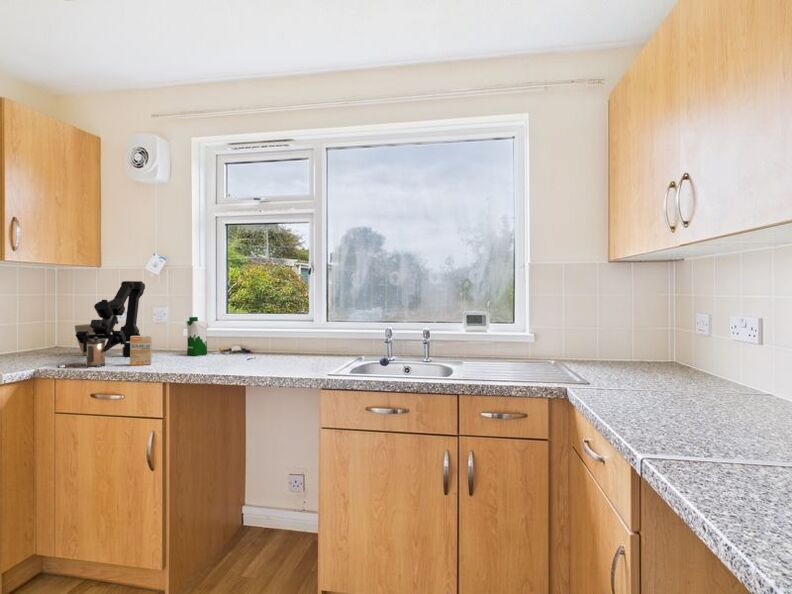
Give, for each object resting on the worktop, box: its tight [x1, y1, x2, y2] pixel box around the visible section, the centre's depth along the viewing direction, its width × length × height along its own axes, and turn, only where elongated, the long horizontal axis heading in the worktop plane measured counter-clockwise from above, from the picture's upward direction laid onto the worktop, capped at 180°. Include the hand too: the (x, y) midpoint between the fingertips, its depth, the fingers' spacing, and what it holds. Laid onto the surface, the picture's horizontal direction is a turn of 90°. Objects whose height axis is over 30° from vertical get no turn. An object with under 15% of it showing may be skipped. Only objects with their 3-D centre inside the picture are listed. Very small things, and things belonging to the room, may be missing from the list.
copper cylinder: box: [86, 336, 106, 368], centre depth 191 cm, size 8×7×13 cm
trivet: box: [62, 362, 87, 368], centre depth 192 cm, size 10×10×1 cm
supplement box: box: [129, 335, 153, 367], centre depth 196 cm, size 8×5×13 cm, turn 115°
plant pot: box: [74, 323, 107, 356], centre depth 230 cm, size 15×15×16 cm
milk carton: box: [185, 316, 209, 357], centre depth 228 cm, size 9×9×20 cm
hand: (94, 351), depth 190 cm, fingers open, 8 cm apart
